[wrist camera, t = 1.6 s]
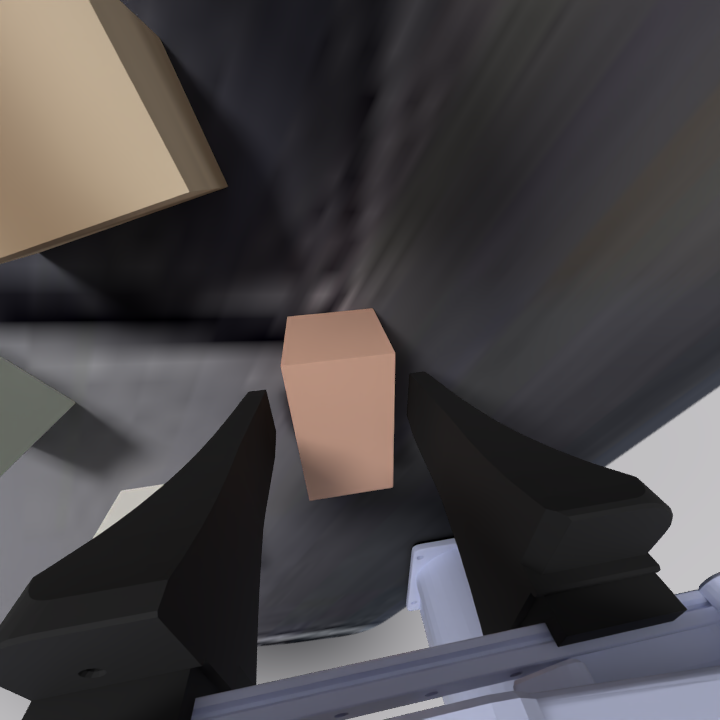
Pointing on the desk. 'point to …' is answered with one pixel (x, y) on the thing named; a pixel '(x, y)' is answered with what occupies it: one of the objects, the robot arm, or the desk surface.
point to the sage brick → (25, 411)
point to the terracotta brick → (341, 400)
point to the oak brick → (90, 125)
